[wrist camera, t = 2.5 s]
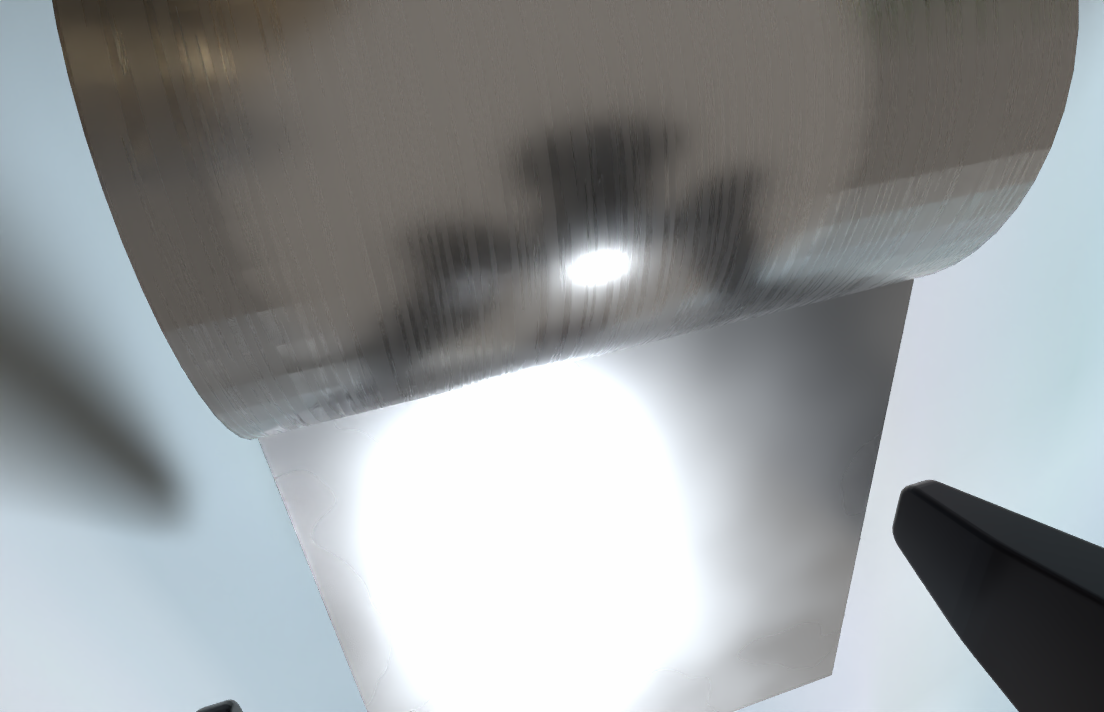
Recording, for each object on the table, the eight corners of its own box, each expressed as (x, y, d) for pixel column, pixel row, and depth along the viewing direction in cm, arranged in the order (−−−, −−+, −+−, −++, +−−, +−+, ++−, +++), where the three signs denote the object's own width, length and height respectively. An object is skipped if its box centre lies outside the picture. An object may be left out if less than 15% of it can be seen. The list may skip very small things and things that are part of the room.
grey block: (726, 529, 12) (879, 740, 9) (390, 634, 11) (425, 922, 8) (769, -166, 7) (1174, -269, 4) (138, -115, 6) (-78, -197, 3)
